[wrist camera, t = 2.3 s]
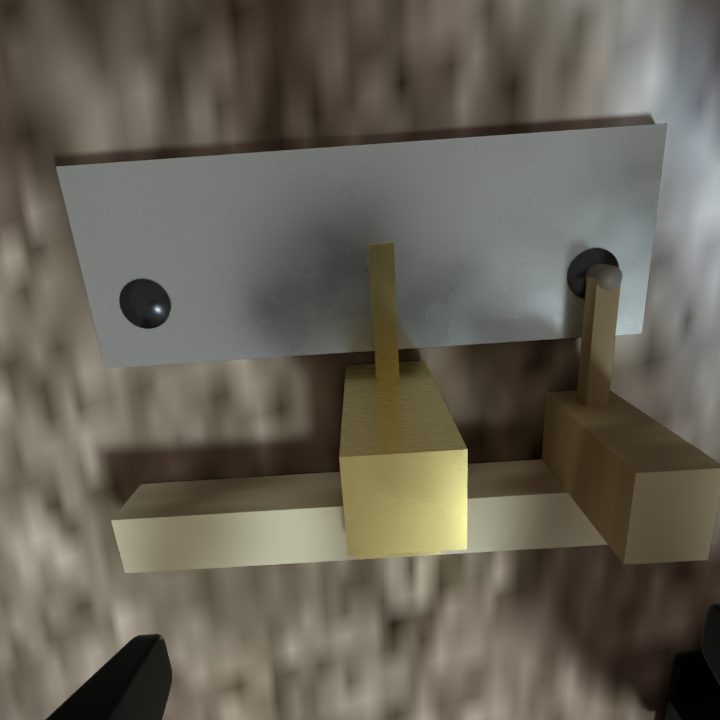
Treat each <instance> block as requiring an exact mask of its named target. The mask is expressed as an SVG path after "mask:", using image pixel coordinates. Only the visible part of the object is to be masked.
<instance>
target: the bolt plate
mask: <svg viewBox="0 0 720 720" xmlns="http://www.w3.org/2000/svg"><path fill="white" fill-rule="evenodd" d="M666 132H667V123H664V124H650V125H636V126H622V127H608V128H594V129H580V130H565V131H551V132H537V133H523V134H509V135H495V136H481V137H467V138H453V139H438V140H424V141H410V142H396V143H382V144H368V145H354V146H340V147H326V148H311V149H297V150H283V151H269V152H255V153H241V154H227V155H213V156H199V157H184V158H170V159H156V160H142V161H128V162H114V163H100V164H86V165H72V166H57V167H56V170H57V174H58V178H59V182H60V186H61V190H62V194H63V198H64V202H65V206H66V210H67V214H68V218H69V222H70V227H71V231H72V235H73V239H74V243H75V247H76V251H77V255H78V259H79V263H80V267H81V271H82V275H83V279H84V284H85V288H86V292H87V296H88V300H89V304H90V308H91V312H92V316H93V320H94V324H95V328H96V332H97V336H98V341H99V345H100V349H101V353H102V357H103V361H104V365H105V368H117V367H132V366H148V365H163V364H179V363H194V362H209V361H225V360H240V359H256V358H271V357H286V356H302V355H317V354H333V353H348V352H363V351H374V335H373V317H372V300H371V283H370V266H369V249H368V244H370V243H385V242H393V243H394V260H395V284H396V307H397V331H398V349H410V348H425V347H440V346H456V345H471V344H487V343H502V342H517V341H533V340H548V339H564V338H579V337H582V329H583V317H584V305H585V293H586V281H585V273H586V270H587V269H588V268H589V267H590V266H591V265H593V264H596V263H600V264H606V265H612V266H616V267H618V268H619V269H620V270H621V271H622V281H621V287H620V296H619V306H618V315H617V325H616V334H615V335H625V334H641V333H642V327H643V318H644V310H645V302H646V294H647V286H648V278H649V270H650V262H651V253H652V245H653V237H654V229H655V221H656V213H657V205H658V197H659V188H660V180H661V172H662V164H663V156H664V148H665V140H666Z"/></svg>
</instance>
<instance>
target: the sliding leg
mask: <svg viewBox="0 0 720 720" xmlns="http://www.w3.org/2000/svg"><path fill="white" fill-rule="evenodd" d="M368 249H369V266H370V283H371V300H372V317H373V335H374V352H375V364H362V365H347V366H346V372H345V386H344V399H343V412H342V426H341V439H340V452H339V462H340V473H341V484H342V495H343V507H344V518H345V529H346V540H347V551H348V556H357V559H368V558H385V557H402V556H419V555H436V554H441V551H444V550H461V549H467V478H468V449H467V447H466V445H465V443H464V441H463V439H462V437H461V435H460V433H459V431H458V429H457V426H456V424H455V422H454V420H453V418H452V416H451V414H450V412H449V410H448V408H447V406H446V404H445V402H444V400H443V398H442V396H441V394H440V392H439V390H438V387H437V385H436V383H435V381H434V379H433V377H432V375H431V373H430V371H429V369H428V367H427V365H426V363H425V361H409V362H399V355H398V331H397V307H396V284H395V260H394V243H393V242H385V243H370V244H368Z"/></svg>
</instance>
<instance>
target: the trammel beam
mask: <svg viewBox="0 0 720 720" xmlns="http://www.w3.org/2000/svg"><path fill="white" fill-rule="evenodd" d="M585 281H586V293H585V305H584V317H583V329H582V342H581V354H580V366H579V378H578V390H571V391H555V392H546V397H545V413H544V430H543V446H542V459H539V460H523V461H507V462H491V463H474V464H468V478H467V549H461V550H444V551H441V554H436V555H442V554H459V553H476V552H493V551H510V550H527V549H544V548H561V547H578V546H595V545H609V546H610V548H611V549H612V550H613V552H614V553H615V554H616V555H617V557H618V558H619V559H620V561H621V562H622V563H623V564H624V565H631V564H648V563H666V562H683V561H700V560H708V557H709V552H710V547H711V542H712V537H713V532H714V527H715V522H716V517H717V512H718V507H719V502H720V463H718V462H717V461H715V460H714V459H712V458H711V457H709V456H708V455H706V454H705V453H703V452H702V451H700V450H699V449H697V448H696V447H694V446H693V445H691V444H690V443H688V442H687V441H685V440H684V439H682V438H681V437H679V436H678V435H676V434H675V433H673V432H672V431H670V430H669V429H667V428H666V427H664V426H663V425H661V424H660V423H658V422H657V421H655V420H654V419H652V418H651V417H649V416H648V415H646V414H645V413H643V412H642V411H640V410H639V409H637V408H636V407H634V406H633V405H631V404H630V403H628V402H627V401H625V400H624V399H622V398H621V397H619V396H618V395H616V394H615V393H613V392H612V391H610V382H611V372H612V363H613V353H614V344H615V334H616V325H617V315H618V306H619V296H620V287H621V281H622V271H621V270H620V269H619V268H618V267H616V266H612V265H606V264H600V263H596V264H593V265H591V266H590V267H589V268H588V269H587V270H586V273H585ZM111 522H112V525H113V529H114V533H115V537H116V540H117V544H118V548H119V551H120V555H121V559H122V563H123V566H124V570H125V573H137V572H154V571H171V570H188V569H205V568H222V567H239V566H256V565H273V564H290V563H307V562H324V561H340V560H357V556H348V551H347V540H346V529H345V518H344V507H343V495H342V484H341V473H340V472H328V473H312V474H296V475H279V476H263V477H247V478H231V479H214V480H198V481H182V482H166V483H150V484H141V485H140V486H139V487H138V488H137V490H136V491H135V492H134V493H133V494H132V496H131V497H130V498H129V499H128V500H127V502H126V503H125V504H124V505H123V507H122V508H121V509H120V510H119V511H118V513H117V514H116V515H115V516H114V517H113V519H112V520H111ZM419 556H425V555H419ZM402 557H408V556H402ZM385 558H391V557H385ZM368 559H374V558H368Z"/></svg>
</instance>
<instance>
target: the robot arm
mask: <svg viewBox="0 0 720 720" xmlns="http://www.w3.org/2000/svg"><path fill="white" fill-rule="evenodd" d="M701 648H702V652H703V653H695V654H684V655H681V656H679V657H678V658H677V659H676V660H675V662H674V667H673V673H672V678H671V683H670V689H669V694H668V699H667V705H666V710H665V715H664V720H720V604H713V605H711V606H710V607H709V608H708V610H707V614H706V618H705V623H704V628H703V633H702V638H701ZM171 682H172V669H171V664H170V660H169V656H168V652H167V648H166V644H165V641H164V638H163V637H162V636H161V635H159V634H150V635H138V636H136V637H134V638H133V639H132V640H130V641H129V642H128V643H127V644H126V645H125V646H124V647H123V648H122V649H121V650H120V651H119V652H118V653H116V654H115V655H114V656H113V657H112V658H111V659H110V660H109V661H108V662H107V663H106V664H105V665H104V666H103V667H101V668H100V669H99V670H98V671H97V672H96V673H95V674H94V675H93V676H92V677H91V678H90V679H89V680H87V681H86V682H85V683H84V684H83V685H82V686H81V687H80V688H79V689H78V690H77V691H76V692H75V693H74V694H72V695H71V696H70V697H69V698H68V699H67V700H66V701H65V702H64V703H63V704H62V705H61V706H60V707H58V708H57V709H56V710H55V711H54V712H53V713H52V714H51V715H50V716H49V717H48V718H47V719H46V720H162V718H163V714H164V711H165V707H166V703H167V699H168V696H169V692H170V688H171Z"/></svg>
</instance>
